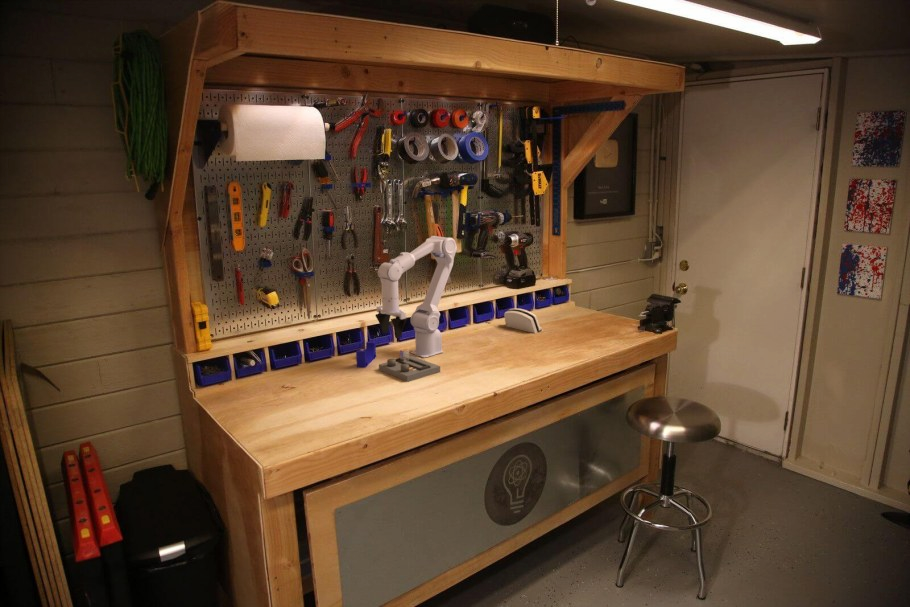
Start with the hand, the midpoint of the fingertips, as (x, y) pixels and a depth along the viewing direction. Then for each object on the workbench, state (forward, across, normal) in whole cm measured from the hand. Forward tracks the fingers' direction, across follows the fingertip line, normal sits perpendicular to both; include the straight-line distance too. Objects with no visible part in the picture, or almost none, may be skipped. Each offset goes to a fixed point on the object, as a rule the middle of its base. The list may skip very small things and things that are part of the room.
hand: (391, 335), depth 214 cm
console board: (+10, +10, -1) cm, 15 cm away
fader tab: (+8, +6, +1) cm, 10 cm away
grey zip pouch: (+11, +2, +66) cm, 67 cm away
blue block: (+11, -8, -6) cm, 15 cm away
